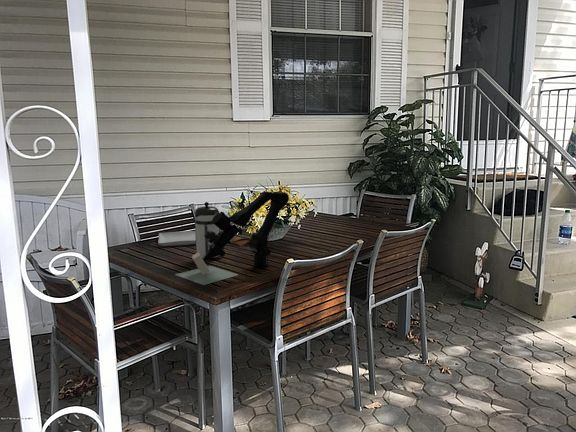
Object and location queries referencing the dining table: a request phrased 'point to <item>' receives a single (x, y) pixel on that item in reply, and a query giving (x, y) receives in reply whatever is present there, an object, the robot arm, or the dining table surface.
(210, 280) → the rubber mat
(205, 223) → the coffee press
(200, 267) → the card box
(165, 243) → the square plate
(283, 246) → the dining table surface
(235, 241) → the sunglasses case
